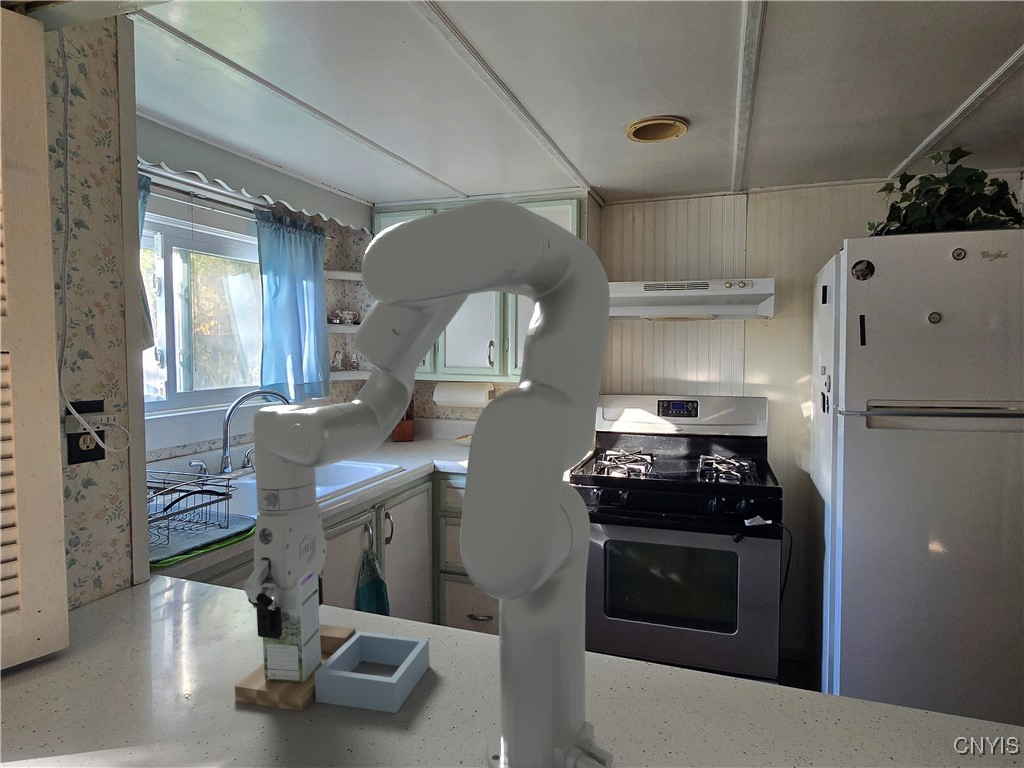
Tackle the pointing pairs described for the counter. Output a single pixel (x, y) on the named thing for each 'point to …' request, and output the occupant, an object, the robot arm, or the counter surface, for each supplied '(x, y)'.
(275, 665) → the syrup box
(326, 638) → the block
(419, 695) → the counter surface
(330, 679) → the square frame
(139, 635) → the counter surface
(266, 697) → the board
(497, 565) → the robot arm
